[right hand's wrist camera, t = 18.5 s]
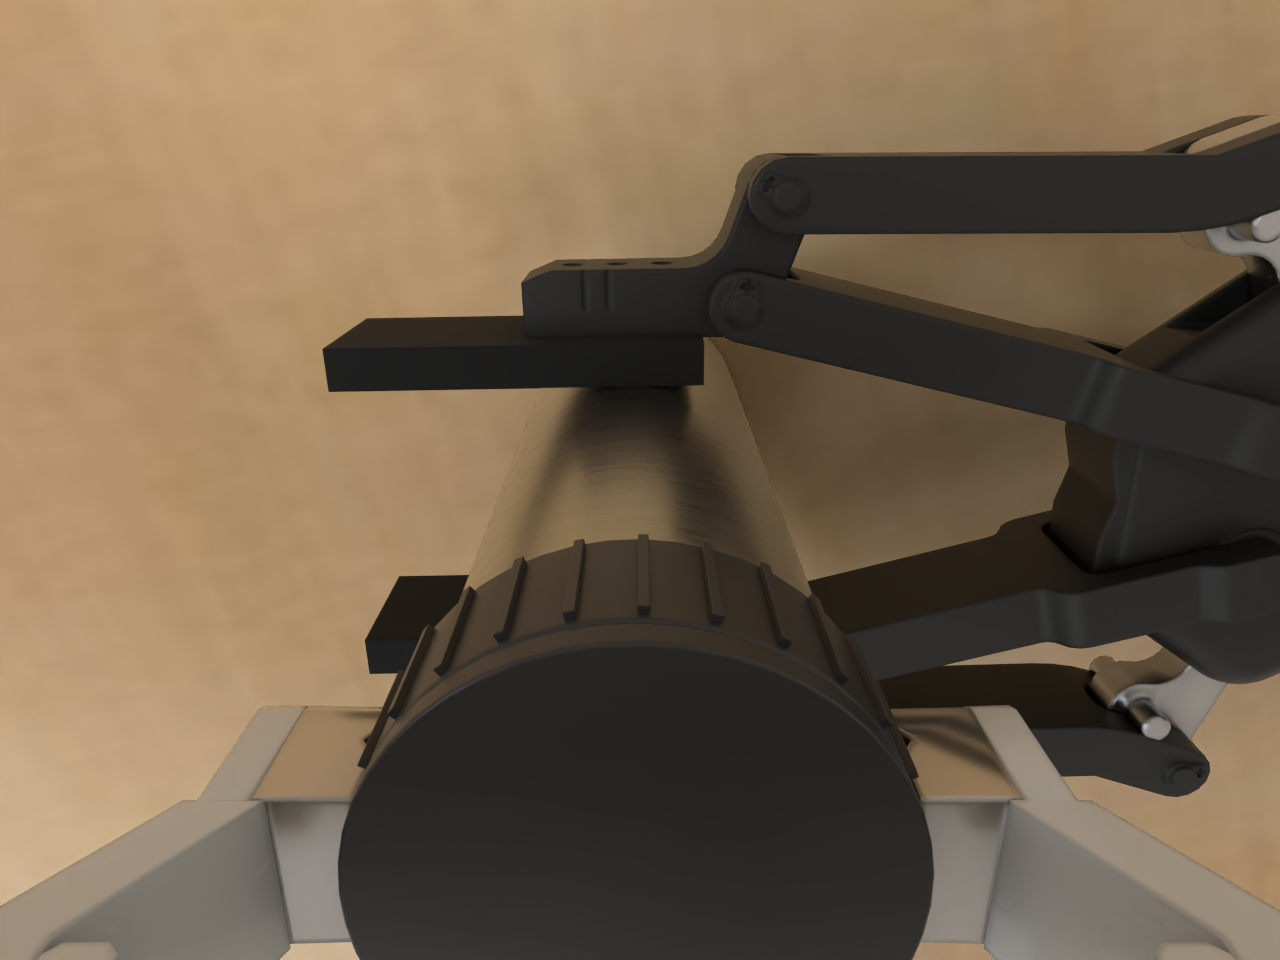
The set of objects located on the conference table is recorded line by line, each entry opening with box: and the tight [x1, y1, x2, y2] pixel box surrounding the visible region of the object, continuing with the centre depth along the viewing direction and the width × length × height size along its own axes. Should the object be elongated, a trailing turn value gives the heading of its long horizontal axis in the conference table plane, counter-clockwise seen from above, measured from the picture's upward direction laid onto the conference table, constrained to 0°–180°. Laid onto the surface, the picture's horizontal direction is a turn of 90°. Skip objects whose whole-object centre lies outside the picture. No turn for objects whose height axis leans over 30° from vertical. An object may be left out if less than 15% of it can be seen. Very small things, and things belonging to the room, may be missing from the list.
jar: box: [464, 337, 812, 597], centre depth 16 cm, size 5×5×16 cm
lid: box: [338, 534, 934, 960], centre depth 9 cm, size 6×6×2 cm
